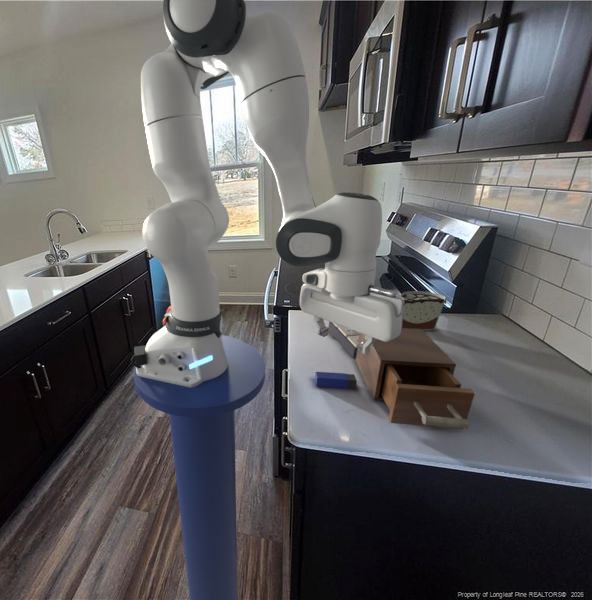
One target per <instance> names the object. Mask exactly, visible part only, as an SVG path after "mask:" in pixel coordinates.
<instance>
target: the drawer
mask: <svg viewBox="0 0 592 600" xmlns="http://www.w3.org/2000/svg"><path fill="white" fill-rule="evenodd" d="M380 393H381V395H382V397H383V399H384V401H383V402H384V403H385V405H386V406H387V409H388V410H389V414H388V420H389V422H390V423H391V424H398V425H399V424H400V425H410V426H419V427H431V428H442V429H452V430H461V431H463V430H465V429H469V427H470V422H469V420H468V416H469V413H470V410H471V407H472V403H473V400H474V398H475V394H476V392H475V391H473V389H471V388H467V387H466V388H465V387H462V384H461V382H460V381H459V380H458V379H457V378H456V377H455V376H454V374H453V375H452V374H451V373H450V372H449V371H448V370H447V369H446V368H445V367H432V366H415V365H398V364H385V366H384V371H383V377H382V382H381V387H380Z"/></svg>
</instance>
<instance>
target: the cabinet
mask: <svg viewBox="0 0 592 600" xmlns="http://www.w3.org/2000/svg"><path fill="white" fill-rule="evenodd" d="M362 342H367V340H366V339H365V334H362V333H360V334H359V341H358V345H359V344H360V343H362ZM358 349H359V348H357V355H356V359H355V363H356V366H357V368H358V370H359V372H360V374H361V376H362V378H363V380H364V382H365V385H366V387H367V389H368V391H369V393H370V395H371V397H372V400H373V401H379V402H385V401H384V399H383V397H382V395H381V393H380V387H381V382H382V377H383V371H384V366H385V364H398V365H415V366H432V367H445V368H446V369H447V370H448V371H449V372H450V373H451V374H452V375H453V376H454V373H455V370H456V367H457V364H456V362H454V360H453V359H452V358H451V357H450V356H448V354H447V353H446V352H445V351H444V350H443V349H442V348H441V347H440V346H439V345H438V344H437V343H436V342H434V340H433V339H432V338H431V337H430V336H429V335H428V334H427V333H426V332H425V330H422V329H410V328H401V334H400V335H399V336H398V337H397V338H395V339H393V340H391V341H389V342H384V341H381V340H378V339H377V340H376V341H375V342H374V343H373V344H372V345H371V348H370V352H369V353H368V354H366V355H365V354H363V353H361V352H358Z"/></svg>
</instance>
